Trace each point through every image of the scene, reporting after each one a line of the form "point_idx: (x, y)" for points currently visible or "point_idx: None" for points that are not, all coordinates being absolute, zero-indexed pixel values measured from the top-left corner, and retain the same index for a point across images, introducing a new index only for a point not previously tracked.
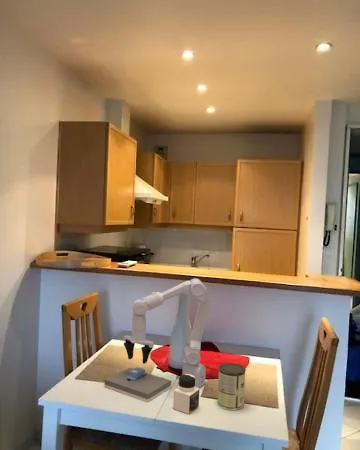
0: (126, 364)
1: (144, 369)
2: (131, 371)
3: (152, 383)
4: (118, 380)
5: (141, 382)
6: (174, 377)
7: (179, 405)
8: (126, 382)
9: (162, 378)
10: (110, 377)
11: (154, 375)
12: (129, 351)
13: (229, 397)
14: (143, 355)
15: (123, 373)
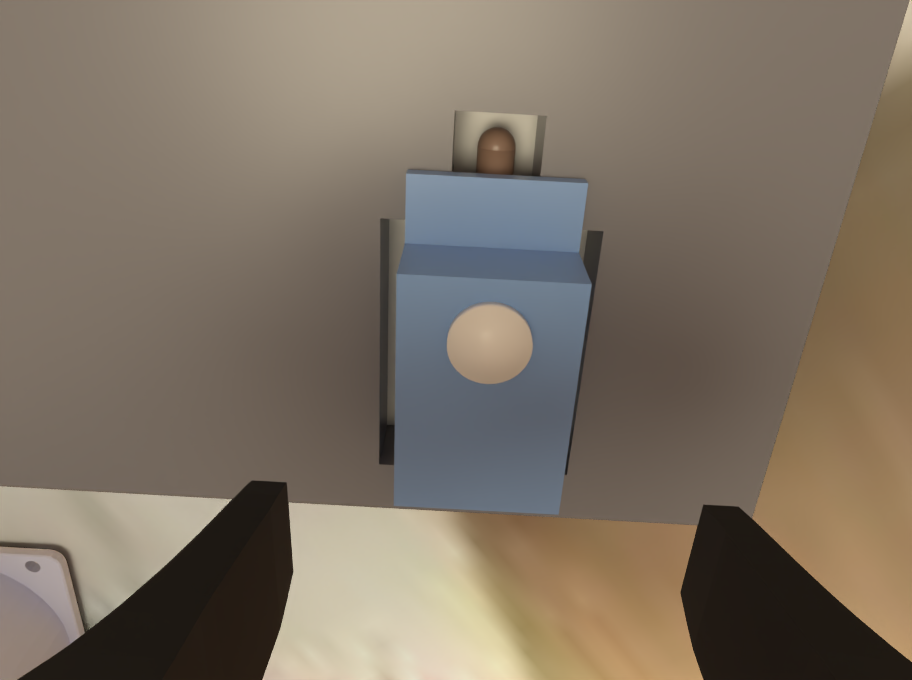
0: None
1: (399, 495)
2: (541, 307)
3: (91, 259)
4: (659, 6)
5: (253, 188)
6: None
7: None
8: (471, 22)
9: (118, 477)
10: (878, 30)
11: None
12: (800, 678)
13: None
14: (154, 624)
15: (733, 316)
